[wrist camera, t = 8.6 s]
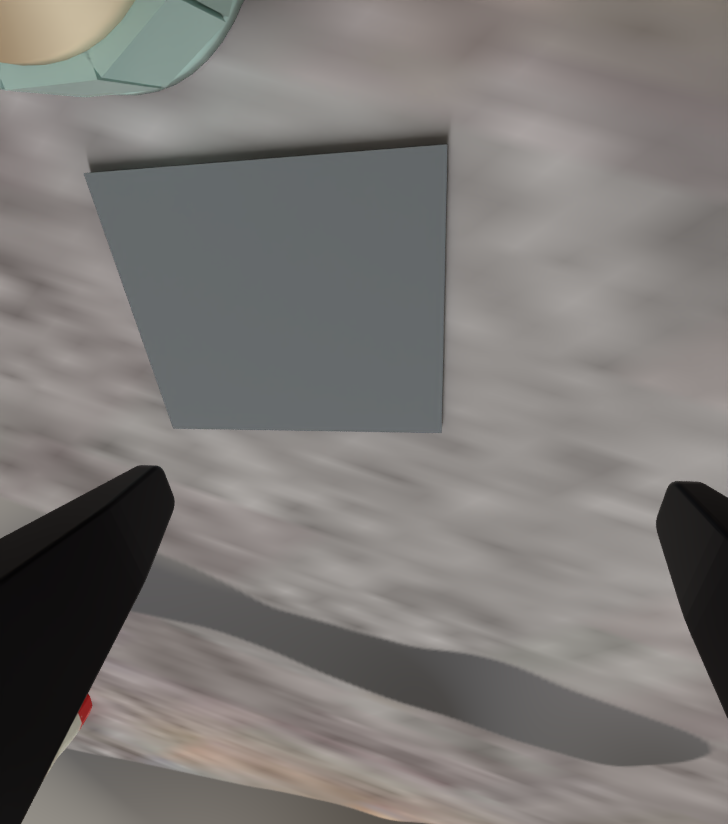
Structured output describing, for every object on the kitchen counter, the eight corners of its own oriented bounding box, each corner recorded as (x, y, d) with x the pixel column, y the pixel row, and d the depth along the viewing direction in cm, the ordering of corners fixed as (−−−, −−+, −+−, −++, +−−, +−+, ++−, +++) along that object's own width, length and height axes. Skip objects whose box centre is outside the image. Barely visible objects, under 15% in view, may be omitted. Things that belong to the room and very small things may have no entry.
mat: (447, 143, 16) (447, 144, 16) (441, 428, 22) (441, 432, 22) (90, 172, 18) (83, 173, 18) (176, 424, 24) (173, 428, 24)
